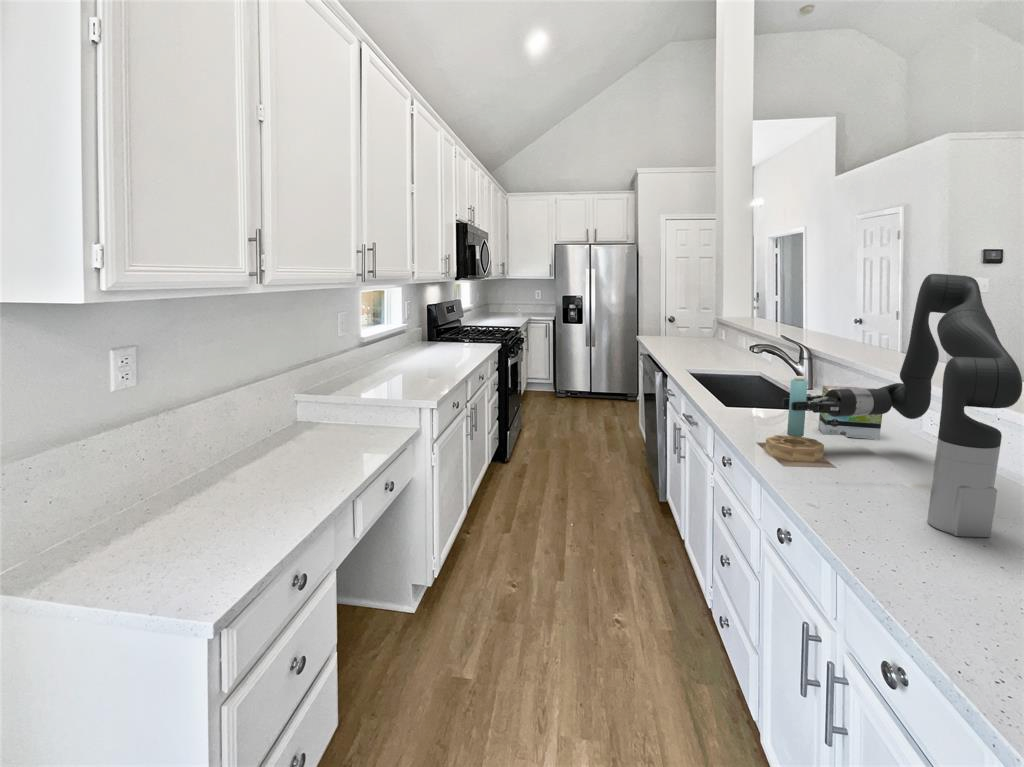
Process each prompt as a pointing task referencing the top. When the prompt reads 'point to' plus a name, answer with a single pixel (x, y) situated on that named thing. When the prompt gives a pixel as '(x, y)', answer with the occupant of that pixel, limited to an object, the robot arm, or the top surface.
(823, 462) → the board
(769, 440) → the tan octagonal ring
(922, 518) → the top surface
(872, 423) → the tea box
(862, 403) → the robot arm
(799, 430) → the teal bottle
